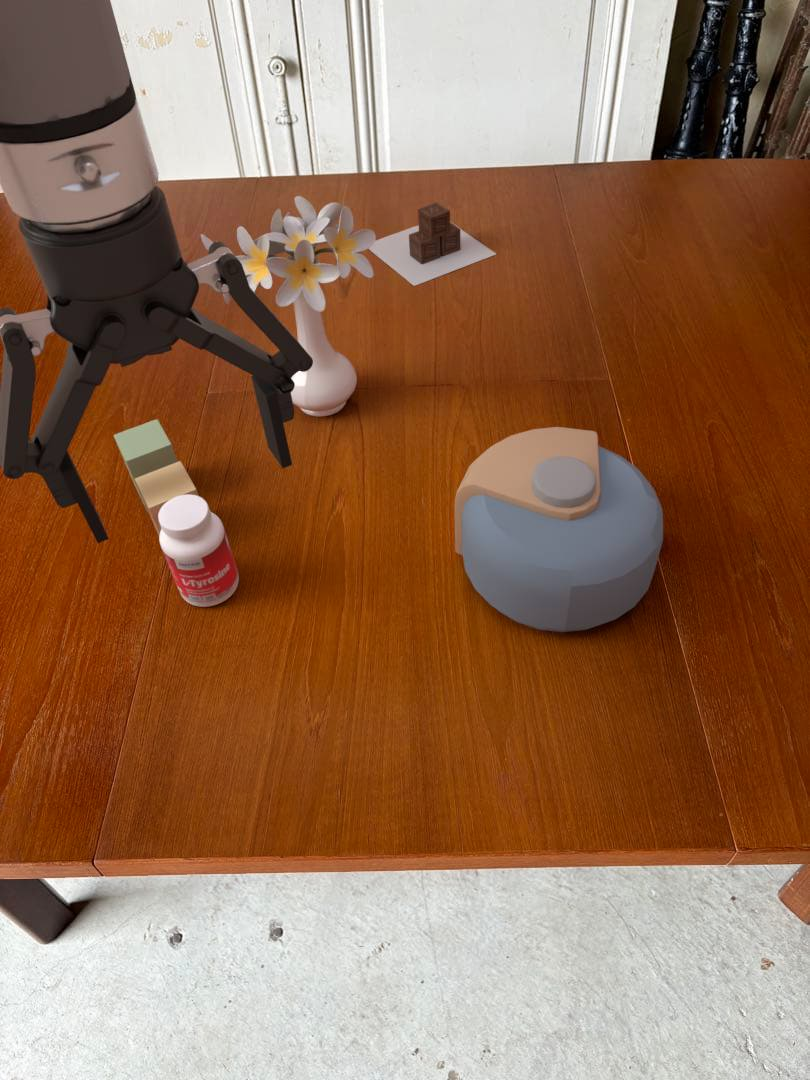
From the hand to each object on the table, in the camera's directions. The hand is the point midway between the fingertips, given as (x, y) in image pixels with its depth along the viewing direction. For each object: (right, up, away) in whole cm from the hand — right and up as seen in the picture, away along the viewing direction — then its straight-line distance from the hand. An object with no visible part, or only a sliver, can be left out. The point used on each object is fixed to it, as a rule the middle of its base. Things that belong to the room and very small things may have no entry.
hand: (192, 491), depth 58 cm
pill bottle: (-5, -8, +26) cm, 28 cm away
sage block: (-13, +2, +36) cm, 38 cm away
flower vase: (+4, +13, +45) cm, 47 cm away
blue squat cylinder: (+30, -6, +26) cm, 40 cm away
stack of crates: (+19, +42, +69) cm, 83 cm away
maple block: (-9, -3, +31) cm, 32 cm away
